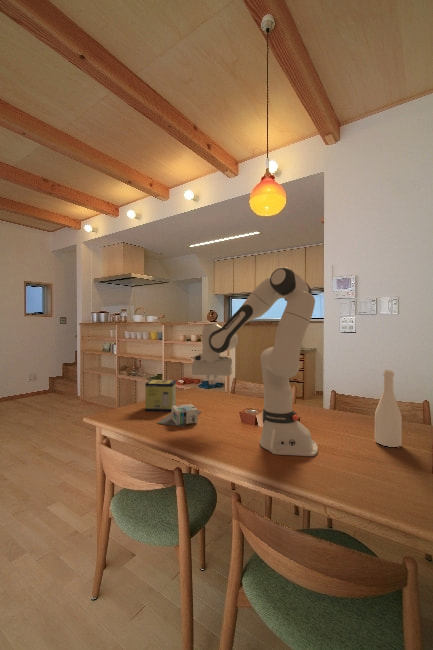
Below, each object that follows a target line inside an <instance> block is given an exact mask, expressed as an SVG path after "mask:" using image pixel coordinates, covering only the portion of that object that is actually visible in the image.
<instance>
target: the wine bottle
mask: <svg viewBox="0 0 433 650" xmlns="http://www.w3.org/2000/svg"><path fill="white" fill-rule="evenodd" d="M382 375H383V391H382V394H381V397H380V399H379V402H378V403H377V407H376V409H375V412H374V441H376V442H377V443H379V444H381V445H384V446H388V447H398V446H400V447H401V446H402V445H403V444H402V440H403V439H402V438H403V435H402V434H403V433H402V430H403V429H402V428H403V426H402V425H403V419H402V418H403V417H402V414H401V413H402V412H401V410H400V407H399V405H398V402H397V399H396V396H395V393H394V376H395V373H394V371H393V370H389V369H388V370H387V369H386V370H385V369H384V370H383V374H382ZM376 442H375V443H376ZM377 443H376V444H377ZM379 444H378V445H379ZM381 445H380V446H381ZM384 446H383V447H384ZM388 447H387V448H388ZM398 448H399V447H398Z"/></svg>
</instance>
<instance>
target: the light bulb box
mask: <svg viewBox="0 0 433 650" xmlns="http://www.w3.org/2000/svg"><path fill="white" fill-rule="evenodd" d="M198 411H199V410H198V408H197V407H196V406H194V405H193V404H192V403H190V404H188V403H187V404H176V405H175V406H172V410H171V412H170V414H171V419H172V420H173V421H174V423H175V424H176V425H180V424H187V425H188V424H197V423H198V422H199V421H198V420H199V418H198V416H199V415H198Z"/></svg>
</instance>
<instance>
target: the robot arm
mask: <svg viewBox="0 0 433 650" xmlns="http://www.w3.org/2000/svg"><path fill="white" fill-rule="evenodd" d="M280 299H284V301H286V306H285V308H284V310H283V313H282V315H281V317H280V319H279V323H278V325H277V326H276V330H275V340H274V343H273V346H271V347H268V348H267V347H266V349H264V350H263V351H262V353H261V354H260V358H259V360H260V363H261V364H260V365H261V376H262V382H263V409H262V423H263V425H262V430H261V431H262V433H261V436H260V440H259V445H260V446H261V447H262V448H263V449H265V450H268V451H269V452H270V453H272V454H273V455H280V456H281V455H282V456H283V455H285V456H302V457H314V456H317V454H318V452H319V447H318V446H319V445H318V444H317V443H316V442H315V441H314V440H312V434H311V431H310V430H309V429H308V427H306V426H304V425H303V423H301V422H300V421H299V416H298V413H297V411H296V410H295V411H294V410H293V389H292V387H291V384H290V383H291V382H290V379H292V378H293V377H295V376H296V375H297V373H299V370H300V368H301V364H300V356H301V349H302V344H303V340H304V337H305V334H306V332H307V330H308V327H309V325H310V322H311V321H312V320H311V319H312V316H313V313H314V310H315V304H316V300H315V299H316V298H315V296H314V295H313V294H312V289H311V287H310V285H309V284H308V283H307V282H306V281H305V280H304V279H303V278H302V276H300V275H299V274H297V273H296V272H295V271H293V269H291V268H289V267H285V266H281V267H280V266H279V267H278V268H276V269H275V270H274V271H273V272H272V273H271V275H270V276H269V277H267V278H265V279H264V280H262V281H261V282H260V283H259V284H258V285H257V286H256V287H255V288H254V290H253V291H252V292H251V293H250V294H249V296H248V297H247V298H246V300H245V301H244V302H243V303H242V305H241V306H240V307H239V308H238V309H237V311H235V312H234V314H233V315H232V316H231V317H230V318H229V319H228V320H227V321H226V322H225V324H223V325H222V326H220V325H219V324H218V323H209V324H206V325H203V327H202V331H201V343H202V351H201V353H199V354H196V355H194V356H193V357H192V360H193V362H192V363H191V374H192V375H193V376H206V380H207V381H208V385H216V381H217V378H218V376H222V377H223V376H224V377H225V376H227V377H228V376H231V375H232V374H233V367H232V364H233V360H232V358H231V357H230V356H227V355H226V356H222V355H221V353H224V352H226V351H229V350H233V349H234V348H236V347H237V346H238V345H239V341H240V340H239V335H238V334H237V333H238V332H239V330H240V329H242V327H243V326H245V324H247V323H248V322H251V321H252V320H255V319H258V318H260V317H262V316H263V315H265V314H266V313H267V312H268V311H269V310H270V309H271V308H272V306H273V305H274V304H275V303H276V302H277V301H278V300H280ZM211 376H213V379H211V378H210V377H211Z"/></svg>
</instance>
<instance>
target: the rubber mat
mask: <svg viewBox="0 0 433 650" xmlns="http://www.w3.org/2000/svg"><path fill="white" fill-rule="evenodd" d="M201 413H202V410H198V416H199V415H200V414H201ZM156 422H157V421H156ZM156 424H157V425H165V426H173V427H182V428H184V427H186V426H187V425H188V424H180V425H176V424H175V423H174V421H173V420H172V419H171V413H169V414H168V415H166V416H165V417H164V418H162V419H160V420H159V421H158V422H157V423H156Z"/></svg>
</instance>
